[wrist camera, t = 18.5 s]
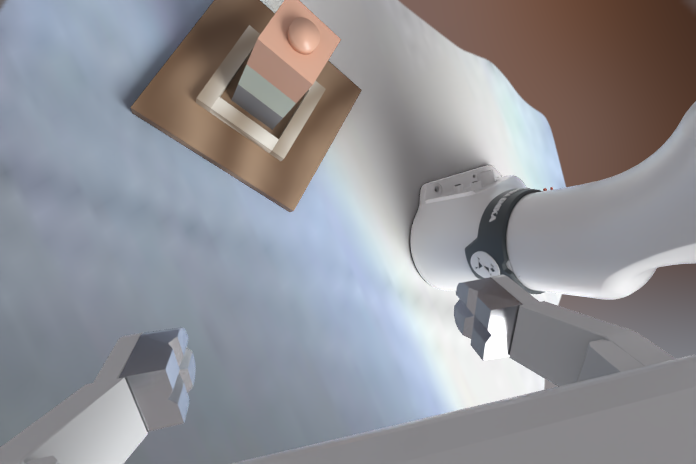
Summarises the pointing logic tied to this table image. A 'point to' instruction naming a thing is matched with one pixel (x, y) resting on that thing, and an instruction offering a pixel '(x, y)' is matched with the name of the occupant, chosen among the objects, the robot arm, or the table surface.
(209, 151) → the socket board
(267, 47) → the brick tower
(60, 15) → the table surface
